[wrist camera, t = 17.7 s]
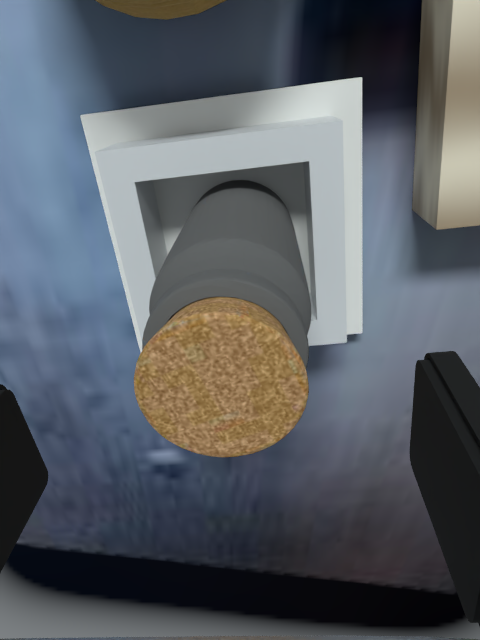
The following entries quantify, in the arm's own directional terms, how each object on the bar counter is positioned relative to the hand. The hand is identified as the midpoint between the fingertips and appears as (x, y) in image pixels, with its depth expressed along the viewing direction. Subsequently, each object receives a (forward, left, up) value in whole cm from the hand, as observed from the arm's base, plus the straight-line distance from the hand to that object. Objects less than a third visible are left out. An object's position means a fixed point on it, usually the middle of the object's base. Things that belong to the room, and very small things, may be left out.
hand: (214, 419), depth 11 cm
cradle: (+1, 0, -18) cm, 18 cm away
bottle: (0, 0, -17) cm, 17 cm away
